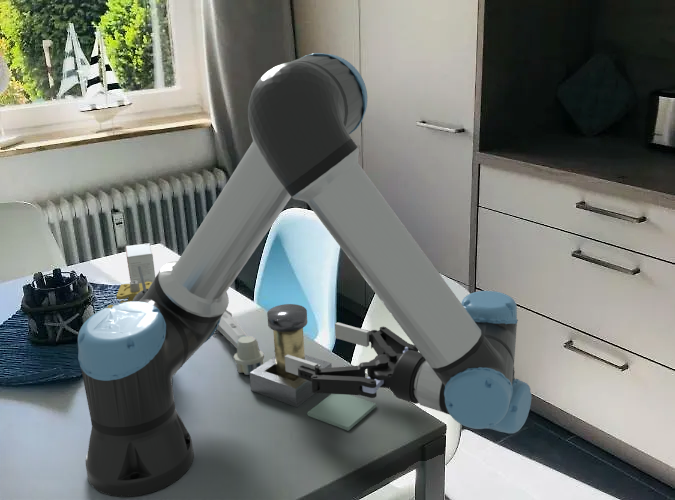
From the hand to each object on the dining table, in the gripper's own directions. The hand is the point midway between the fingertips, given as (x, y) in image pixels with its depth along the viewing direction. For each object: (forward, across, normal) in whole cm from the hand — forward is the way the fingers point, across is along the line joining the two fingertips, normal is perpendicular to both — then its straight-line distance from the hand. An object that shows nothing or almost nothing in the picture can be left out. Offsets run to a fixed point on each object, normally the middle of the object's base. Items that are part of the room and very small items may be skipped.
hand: (312, 345), depth 119 cm
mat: (-7, -2, -9) cm, 12 cm away
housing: (+5, 0, -9) cm, 10 cm away
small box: (+61, +14, -9) cm, 63 cm away
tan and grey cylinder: (+5, 0, -9) cm, 10 cm away
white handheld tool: (+23, +5, -9) cm, 26 cm away
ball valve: (+48, +3, -9) cm, 49 cm away
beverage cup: (+30, -8, -9) cm, 32 cm away
